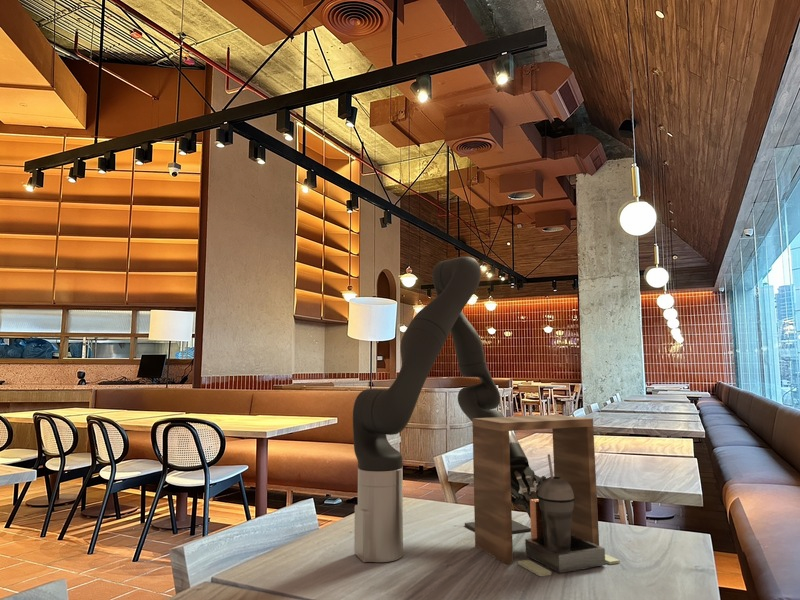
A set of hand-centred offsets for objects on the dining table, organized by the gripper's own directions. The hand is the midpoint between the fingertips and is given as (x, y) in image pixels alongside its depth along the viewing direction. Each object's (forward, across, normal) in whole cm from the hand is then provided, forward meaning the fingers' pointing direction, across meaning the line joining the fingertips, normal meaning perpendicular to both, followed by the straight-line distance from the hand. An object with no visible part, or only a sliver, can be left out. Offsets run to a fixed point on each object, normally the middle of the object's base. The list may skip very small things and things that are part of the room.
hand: (538, 519), depth 116 cm
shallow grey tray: (+9, 0, -1) cm, 9 cm away
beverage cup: (+8, 0, 0) cm, 8 cm away
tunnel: (+3, 0, +5) cm, 6 cm away
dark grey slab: (-8, 0, +16) cm, 18 cm away
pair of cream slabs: (+11, 0, -2) cm, 11 cm away
